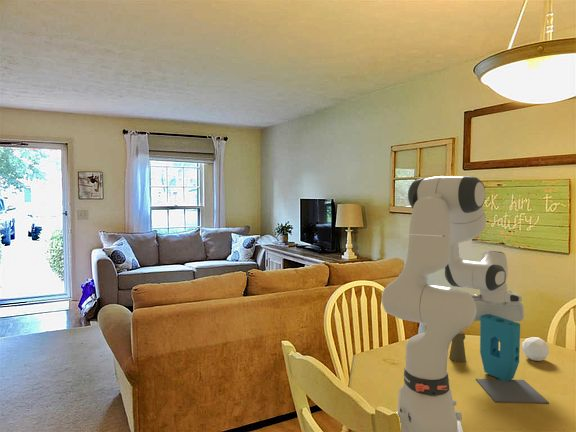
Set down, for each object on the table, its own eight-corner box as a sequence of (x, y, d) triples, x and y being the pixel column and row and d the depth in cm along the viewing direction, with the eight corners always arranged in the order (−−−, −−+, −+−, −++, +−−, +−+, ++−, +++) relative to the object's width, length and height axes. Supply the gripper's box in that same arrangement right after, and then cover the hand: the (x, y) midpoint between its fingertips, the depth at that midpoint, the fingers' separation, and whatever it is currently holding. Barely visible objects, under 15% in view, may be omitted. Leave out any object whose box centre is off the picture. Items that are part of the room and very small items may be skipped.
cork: (468, 362, 154) (469, 333, 153) (452, 362, 154) (453, 333, 154) (462, 355, 160) (462, 328, 160) (446, 355, 160) (447, 328, 160)
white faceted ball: (558, 360, 150) (539, 351, 162) (549, 336, 151) (531, 329, 163) (535, 367, 151) (518, 358, 163) (526, 343, 151) (510, 336, 163)
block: (478, 369, 145) (479, 316, 142) (487, 365, 148) (487, 313, 145) (511, 384, 135) (513, 328, 132) (519, 379, 138) (521, 324, 135)
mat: (549, 403, 123) (549, 402, 123) (495, 402, 124) (495, 400, 124) (523, 380, 138) (523, 379, 138) (475, 379, 139) (475, 378, 139)
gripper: (467, 296, 143) (466, 335, 144) (526, 297, 142) (525, 335, 142) (460, 292, 149) (460, 329, 150) (517, 293, 148) (516, 330, 149)
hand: (492, 332), depth 146 cm, fingers closed
